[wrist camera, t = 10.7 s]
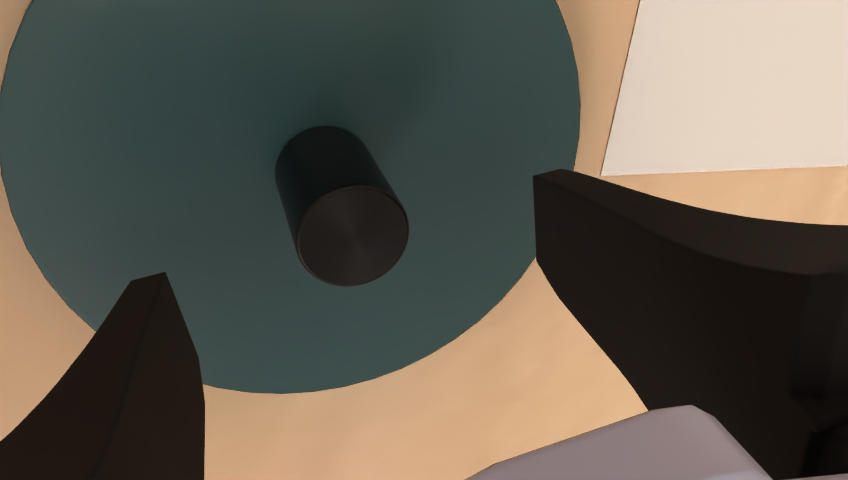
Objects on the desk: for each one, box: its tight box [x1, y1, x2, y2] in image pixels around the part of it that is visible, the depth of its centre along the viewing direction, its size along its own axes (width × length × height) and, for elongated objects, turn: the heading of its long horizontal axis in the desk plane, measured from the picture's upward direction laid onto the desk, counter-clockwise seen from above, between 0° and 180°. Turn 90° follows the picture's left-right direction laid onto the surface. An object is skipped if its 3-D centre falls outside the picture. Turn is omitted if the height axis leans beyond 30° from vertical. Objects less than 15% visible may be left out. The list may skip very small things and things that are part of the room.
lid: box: [0, 0, 581, 394], centre depth 16 cm, size 14×14×5 cm
